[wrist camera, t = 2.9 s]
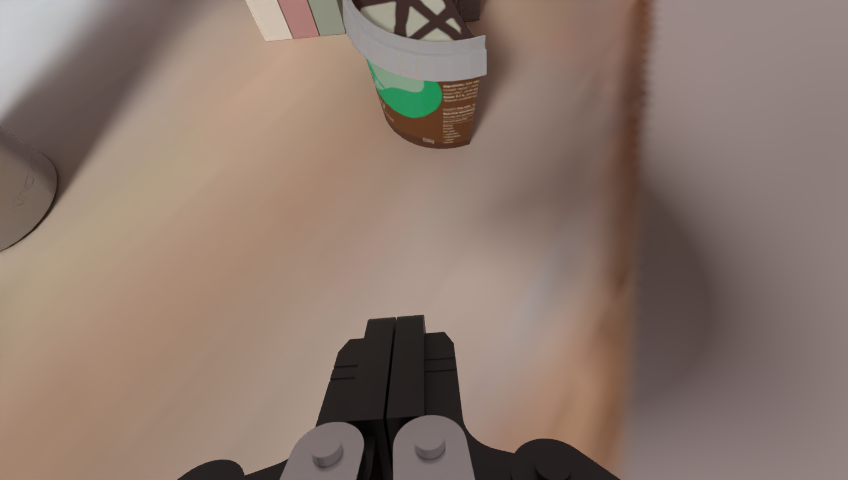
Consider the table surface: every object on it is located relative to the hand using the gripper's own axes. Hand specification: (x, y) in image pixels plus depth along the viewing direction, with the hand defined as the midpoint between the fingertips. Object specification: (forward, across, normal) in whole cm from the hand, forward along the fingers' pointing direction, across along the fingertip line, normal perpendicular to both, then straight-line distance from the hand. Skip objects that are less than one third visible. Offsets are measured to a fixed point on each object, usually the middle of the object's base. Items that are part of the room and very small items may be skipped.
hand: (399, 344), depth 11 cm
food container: (+24, 0, -4) cm, 24 cm away
